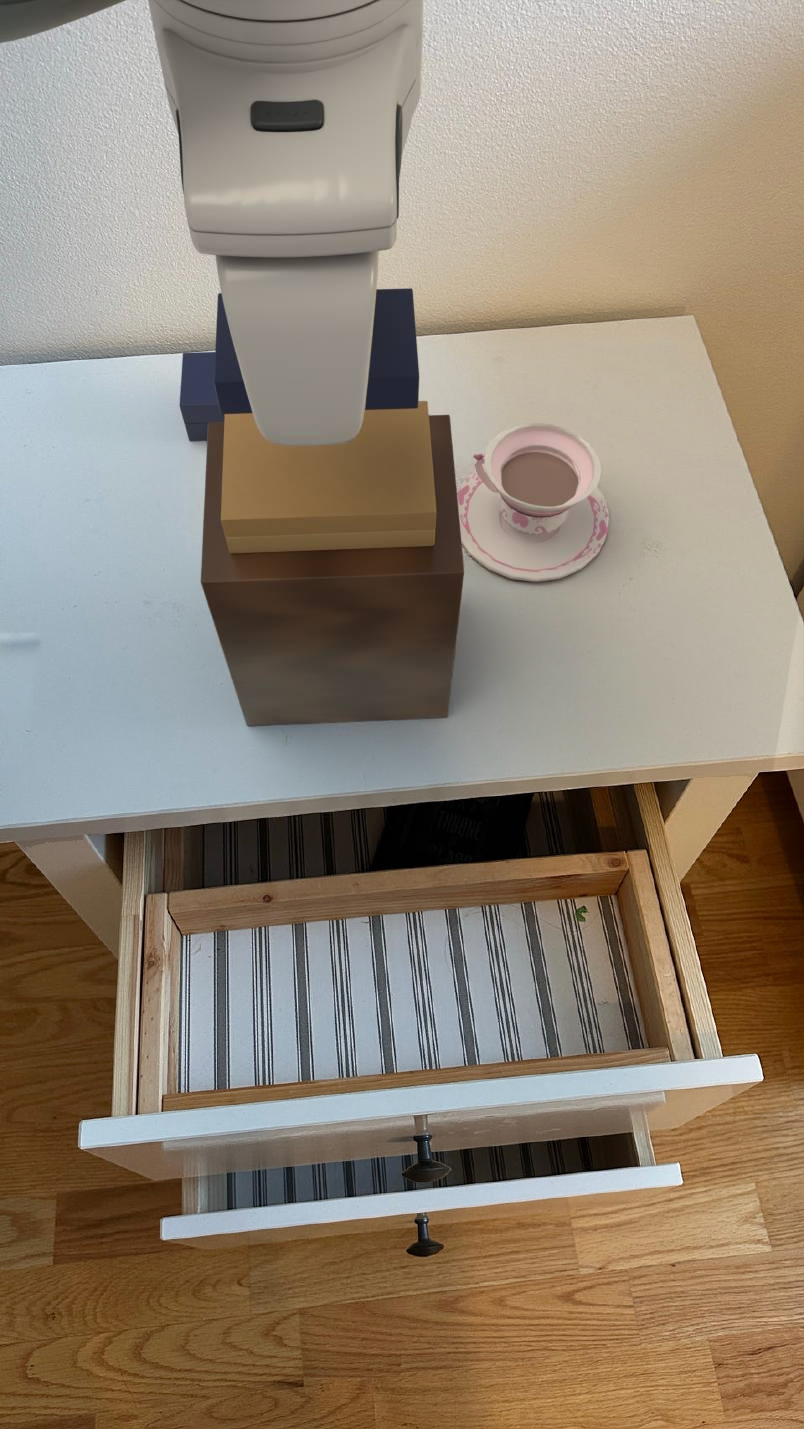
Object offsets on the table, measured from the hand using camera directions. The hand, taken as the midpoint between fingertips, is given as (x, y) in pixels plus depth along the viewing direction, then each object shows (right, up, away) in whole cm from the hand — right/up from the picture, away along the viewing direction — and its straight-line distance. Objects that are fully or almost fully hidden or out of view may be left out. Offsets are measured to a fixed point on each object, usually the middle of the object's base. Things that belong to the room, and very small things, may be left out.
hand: (317, 355), depth 45 cm
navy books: (-9, +8, +35) cm, 37 cm away
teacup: (+14, -2, +31) cm, 34 cm away
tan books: (0, -4, +9) cm, 10 cm away
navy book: (0, 0, +1) cm, 1 cm away
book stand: (0, -12, +25) cm, 28 cm away
